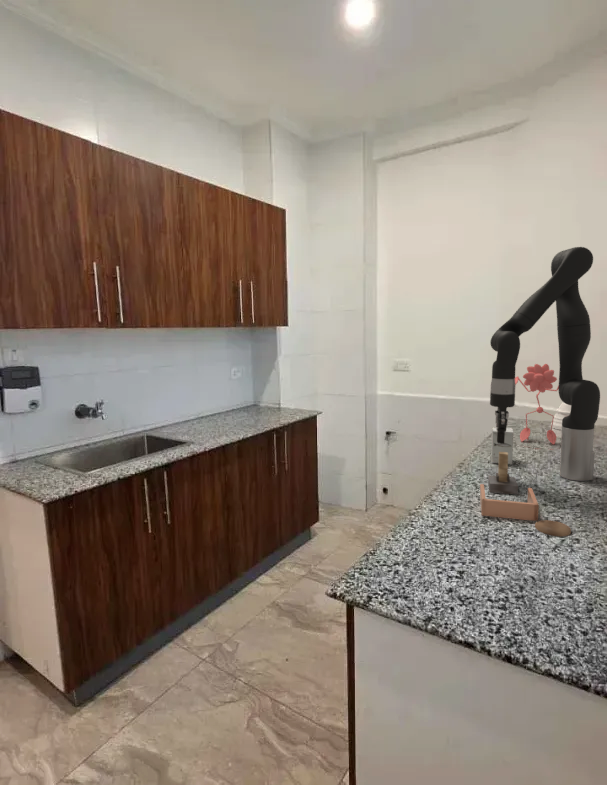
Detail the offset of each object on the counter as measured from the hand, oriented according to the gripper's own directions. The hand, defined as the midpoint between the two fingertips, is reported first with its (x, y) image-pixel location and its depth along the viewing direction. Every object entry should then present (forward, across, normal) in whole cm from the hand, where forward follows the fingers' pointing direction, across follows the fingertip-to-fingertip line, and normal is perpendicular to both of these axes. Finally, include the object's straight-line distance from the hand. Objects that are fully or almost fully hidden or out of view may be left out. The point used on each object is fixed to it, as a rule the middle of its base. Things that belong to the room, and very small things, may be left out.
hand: (500, 442), depth 150 cm
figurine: (+12, +50, -18) cm, 55 cm away
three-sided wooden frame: (+13, -26, 0) cm, 29 cm away
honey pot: (+12, +70, -33) cm, 79 cm away
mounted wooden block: (+13, -10, 0) cm, 16 cm away
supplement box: (+13, +21, -2) cm, 25 cm away
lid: (+13, -37, -10) cm, 41 cm away
